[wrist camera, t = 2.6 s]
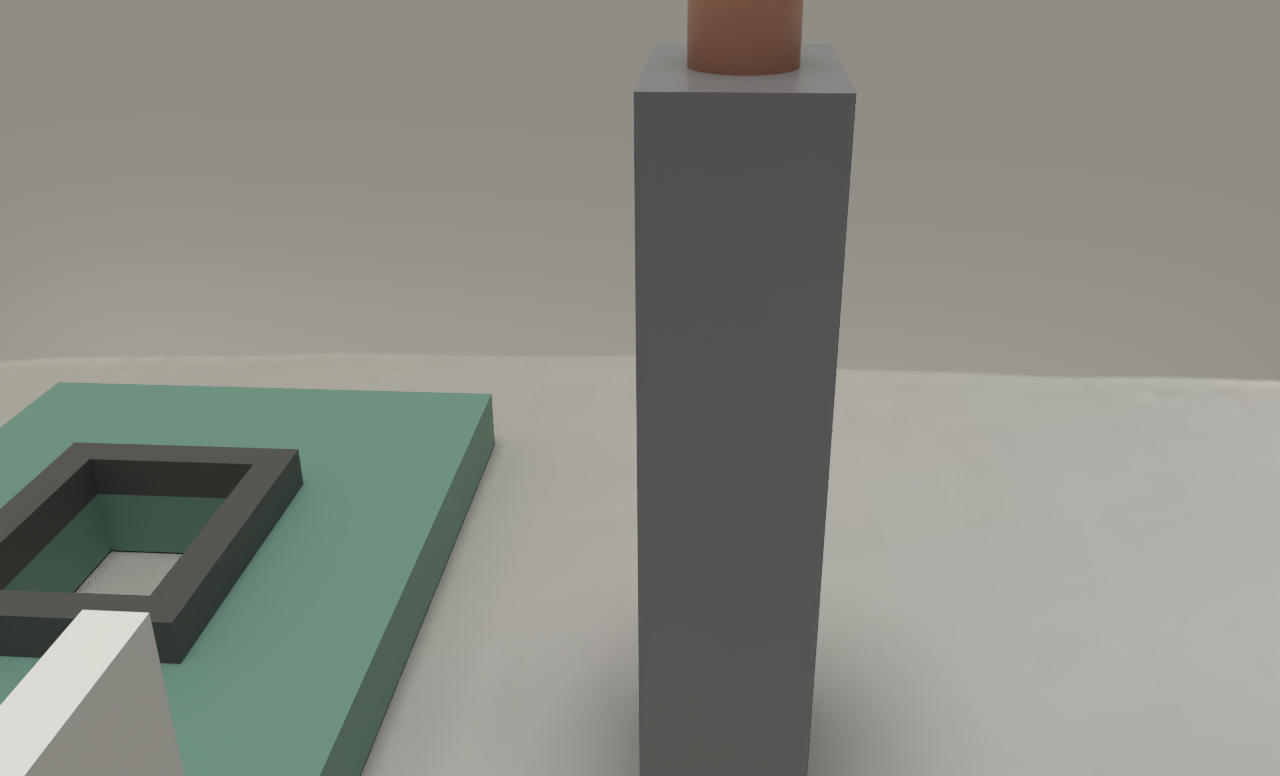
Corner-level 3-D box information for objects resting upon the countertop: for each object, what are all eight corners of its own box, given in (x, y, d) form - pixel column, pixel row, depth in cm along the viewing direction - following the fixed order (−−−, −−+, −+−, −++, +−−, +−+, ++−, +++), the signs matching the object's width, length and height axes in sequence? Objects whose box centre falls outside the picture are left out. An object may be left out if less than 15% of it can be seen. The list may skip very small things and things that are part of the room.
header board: (274, 985, 22) (249, 861, 20) (-507, 934, 23) (-581, 814, 22) (494, 443, 42) (489, 363, 40) (70, 431, 43) (50, 352, 41)
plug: (802, 845, 25) (871, -116, 17) (640, 836, 25) (631, -114, 17) (791, 681, 30) (840, -124, 22) (655, 676, 30) (655, -122, 22)
